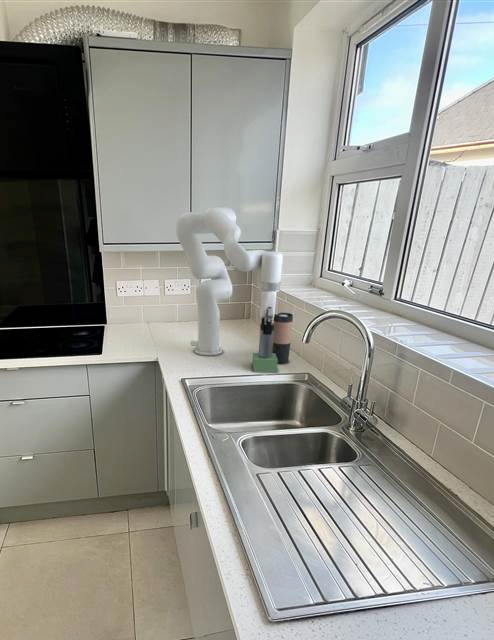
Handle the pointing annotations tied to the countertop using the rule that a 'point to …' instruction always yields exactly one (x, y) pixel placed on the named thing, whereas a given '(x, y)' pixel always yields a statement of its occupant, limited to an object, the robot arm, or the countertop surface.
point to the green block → (265, 363)
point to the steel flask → (266, 343)
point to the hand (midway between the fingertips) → (266, 330)
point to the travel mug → (282, 336)
